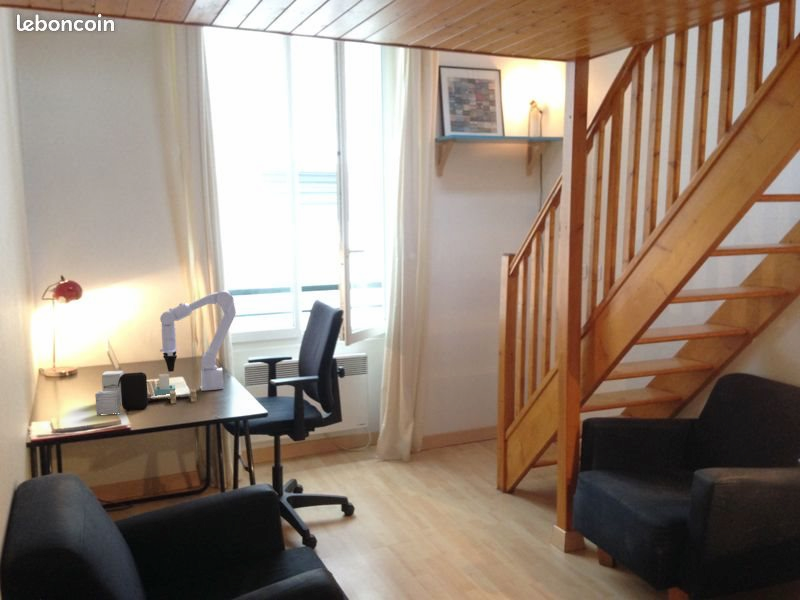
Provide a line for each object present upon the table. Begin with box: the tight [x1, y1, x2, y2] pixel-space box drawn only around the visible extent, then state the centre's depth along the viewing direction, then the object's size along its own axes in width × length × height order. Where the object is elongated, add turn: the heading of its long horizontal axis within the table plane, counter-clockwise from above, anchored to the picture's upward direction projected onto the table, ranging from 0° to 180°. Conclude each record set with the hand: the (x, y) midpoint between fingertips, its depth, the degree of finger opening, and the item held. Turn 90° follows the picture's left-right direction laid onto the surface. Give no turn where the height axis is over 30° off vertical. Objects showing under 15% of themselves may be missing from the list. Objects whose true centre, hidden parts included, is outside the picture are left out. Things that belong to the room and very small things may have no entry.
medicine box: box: [94, 390, 122, 416], centre depth 280 cm, size 8×4×9 cm, turn 92°
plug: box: [158, 373, 170, 389], centre depth 309 cm, size 4×4×8 cm
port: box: [153, 384, 176, 396], centre depth 310 cm, size 12×12×4 cm
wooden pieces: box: [170, 388, 198, 404], centre depth 300 cm, size 10×6×4 cm, turn 109°
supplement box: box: [101, 370, 124, 405], centre depth 299 cm, size 7×7×13 cm
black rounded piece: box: [118, 371, 149, 411], centre depth 286 cm, size 11×3×15 cm, turn 106°
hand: (170, 369), depth 318 cm, fingers open, 7 cm apart
